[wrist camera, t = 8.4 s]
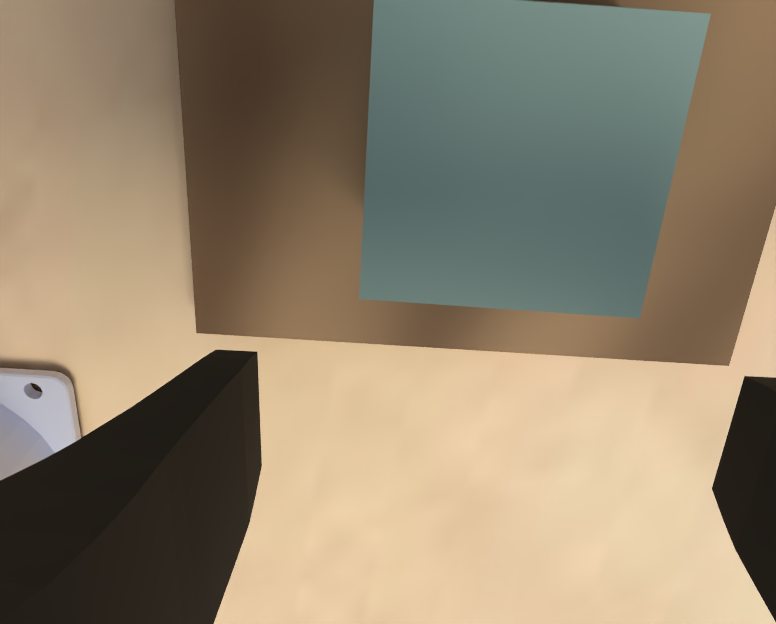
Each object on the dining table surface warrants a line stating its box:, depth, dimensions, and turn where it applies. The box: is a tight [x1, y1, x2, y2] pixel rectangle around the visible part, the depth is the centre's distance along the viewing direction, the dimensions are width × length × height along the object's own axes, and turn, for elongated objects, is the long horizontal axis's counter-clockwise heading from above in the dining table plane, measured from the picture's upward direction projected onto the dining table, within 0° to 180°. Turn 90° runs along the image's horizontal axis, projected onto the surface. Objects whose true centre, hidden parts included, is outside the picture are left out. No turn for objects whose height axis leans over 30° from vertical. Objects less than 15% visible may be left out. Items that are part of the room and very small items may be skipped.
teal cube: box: [359, 0, 711, 318], centre depth 14 cm, size 5×5×5 cm
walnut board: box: [175, 0, 776, 366], centre depth 17 cm, size 14×12×1 cm
